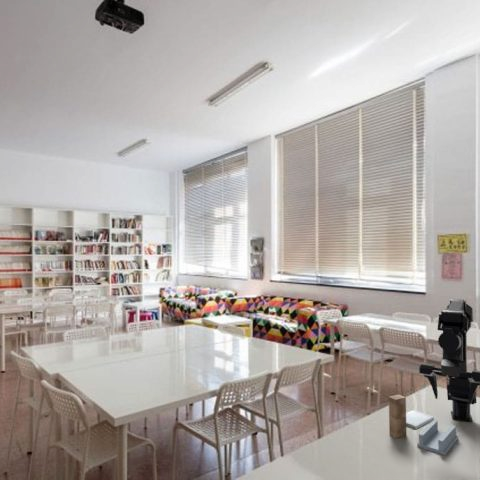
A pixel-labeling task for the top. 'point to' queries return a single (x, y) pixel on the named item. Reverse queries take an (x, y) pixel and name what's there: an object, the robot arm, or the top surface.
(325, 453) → the top surface
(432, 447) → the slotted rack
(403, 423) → the brown wooden block
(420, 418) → the hard drive
